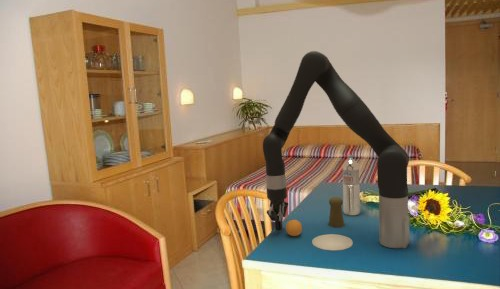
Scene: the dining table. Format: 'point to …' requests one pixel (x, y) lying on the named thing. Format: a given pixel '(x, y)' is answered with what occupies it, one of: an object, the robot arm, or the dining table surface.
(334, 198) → the brown rounded upright piece
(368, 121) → the robot arm
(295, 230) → the ball
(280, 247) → the dining table surface
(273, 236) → the dining table surface
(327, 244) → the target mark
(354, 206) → the water bottle
